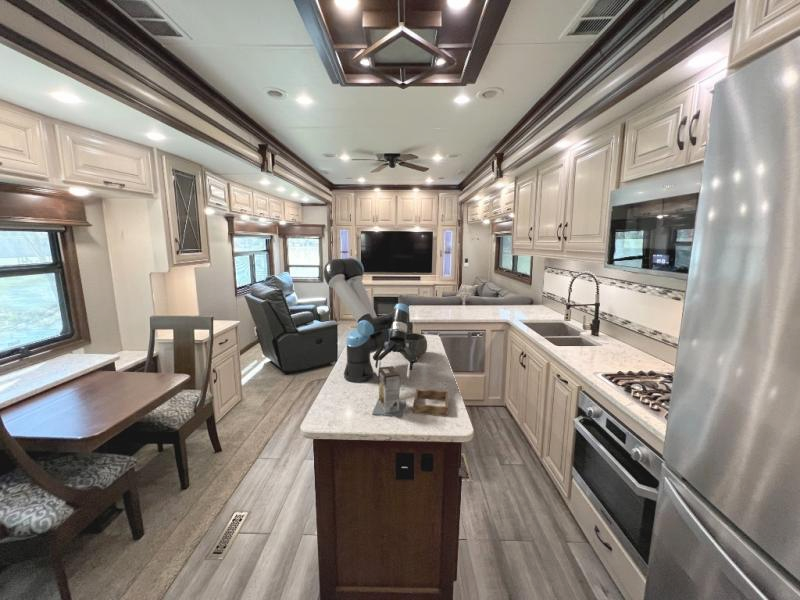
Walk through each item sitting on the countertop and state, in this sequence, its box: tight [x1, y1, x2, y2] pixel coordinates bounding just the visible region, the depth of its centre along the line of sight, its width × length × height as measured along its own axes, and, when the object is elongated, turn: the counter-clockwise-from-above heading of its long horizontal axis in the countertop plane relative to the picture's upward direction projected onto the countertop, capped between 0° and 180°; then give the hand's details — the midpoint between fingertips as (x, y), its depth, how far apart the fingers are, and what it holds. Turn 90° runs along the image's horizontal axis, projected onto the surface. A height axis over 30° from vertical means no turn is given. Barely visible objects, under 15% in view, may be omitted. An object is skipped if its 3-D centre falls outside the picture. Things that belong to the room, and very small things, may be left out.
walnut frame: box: [412, 388, 449, 417], centre depth 137 cm, size 14×14×4 cm
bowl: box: [399, 332, 428, 359], centre depth 192 cm, size 18×18×13 cm
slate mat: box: [371, 398, 406, 418], centre depth 135 cm, size 12×12×1 cm
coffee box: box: [378, 365, 401, 413], centre depth 133 cm, size 9×6×16 cm
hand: (392, 376), depth 142 cm, fingers open, 13 cm apart
